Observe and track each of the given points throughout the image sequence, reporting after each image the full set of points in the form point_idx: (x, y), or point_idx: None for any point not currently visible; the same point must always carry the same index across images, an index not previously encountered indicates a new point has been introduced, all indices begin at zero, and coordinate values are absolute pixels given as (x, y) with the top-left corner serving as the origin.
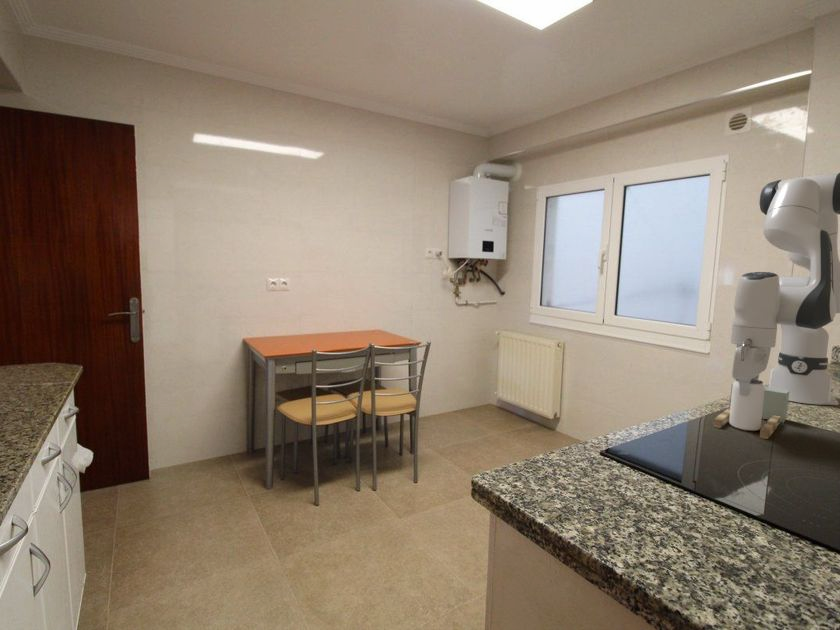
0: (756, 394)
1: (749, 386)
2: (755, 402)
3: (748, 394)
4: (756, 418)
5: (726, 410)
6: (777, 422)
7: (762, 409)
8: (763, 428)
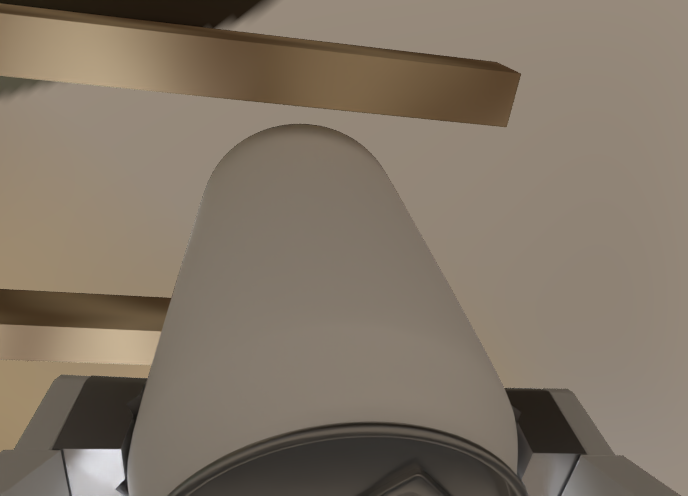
0: (473, 337)
1: (639, 491)
2: (444, 277)
3: (562, 396)
4: (387, 183)
5: (117, 359)
6: (45, 14)
7: (318, 180)
8: (465, 109)
